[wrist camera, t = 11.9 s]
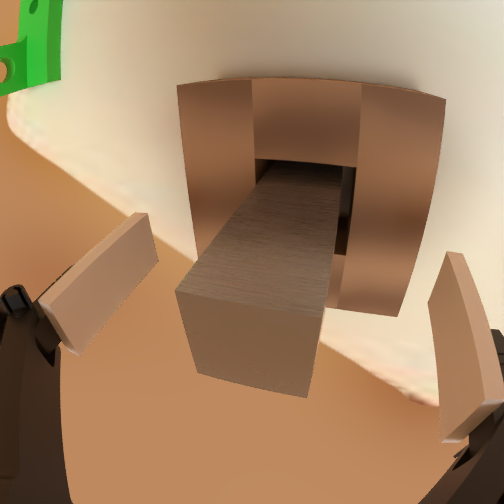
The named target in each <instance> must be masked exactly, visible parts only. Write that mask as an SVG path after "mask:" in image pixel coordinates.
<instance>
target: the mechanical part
mask: <svg viewBox="0 0 504 504" xmlns="http://www.w3.org/2000/svg"><path fill="white" fill-rule="evenodd" d="M62 4H63V0H21V5H20V16H19V32H18V40H17V42H16V43H14V44H9V45H4V46H0V61H1V62H3V63H4V64H5V65H6V67H7V75H6V78H5V80H4V81H3V82H2V83H0V96H3V95H6V94H10V93H13V92H16V91H19V90H22V89H26V88H29V87H33V86H36V85H40V84H44V83H48V82H52V81H56V80H61V69H60V42H61V18H62Z"/></svg>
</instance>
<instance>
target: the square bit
mask: <svg viewBox="0 0 504 504" xmlns="http://www.w3.org/2000/svg"><path fill="white" fill-rule="evenodd" d="M342 176H343V166H341V165H332V164H322V163H312V162H301V161H288V160H276V161H275V162H274V163H273V165H272V166H271V167H270V168H269V169H268V171H267V172H266V173H265V174H264V176H263V177H262V178H261V179H260V181H259V182H258V183H257V184H256V186H255V187H254V188H253V189H252V191H251V192H250V193H249V194H248V196H247V197H246V198H245V199H244V201H243V202H242V203H241V204H240V206H239V207H238V208H237V209H236V211H235V212H234V213H233V215H232V216H231V217H230V218H229V220H228V221H227V222H226V223H225V225H224V226H223V227H222V229H221V230H220V231H219V232H218V234H217V235H216V236H215V238H214V239H213V240H212V242H211V243H210V244H209V245H208V247H207V248H206V249H205V251H204V252H203V253H202V255H201V256H200V257H199V259H198V260H197V261H196V263H195V264H194V265H193V267H192V268H191V269H190V271H189V272H188V273H187V275H186V276H185V277H184V279H183V280H182V281H181V283H180V284H179V285H178V287H177V288H176V289H175V293H176V297H177V301H178V305H179V308H180V313H181V317H182V320H183V324H184V327H185V331H186V335H187V338H188V342H189V345H190V349H191V352H192V355H193V359H194V362H195V366H196V369H197V372H198V373H201V374H204V375H208V376H211V377H215V378H218V379H222V380H226V381H230V382H234V383H238V384H242V385H246V386H250V387H255V388H260V389H264V390H268V391H273V392H278V393H283V394H288V395H293V396H299V397H304V398H307V396H308V392H309V387H310V383H311V378H312V374H313V369H314V364H315V360H316V355H317V350H318V345H319V340H320V335H321V330H322V324H323V319H324V313H325V308H326V302H327V296H328V290H329V284H330V277H331V271H332V264H333V257H334V250H335V242H336V234H337V226H338V218H339V209H340V199H341V188H342Z"/></svg>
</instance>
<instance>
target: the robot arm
mask: <svg viewBox="0 0 504 504" xmlns="http://www.w3.org/2000/svg"><path fill="white" fill-rule="evenodd" d="M158 261H159V260H158V256H157V252H156V248H155V244H154V240H153V235H152V231H151V227H150V222H149V218H148V213H138V212H135V213H134V214H132V215H131V216H130V217H129V218H127V219H126V220H125V221H124V222H123V223H121V224H120V225H119V226H118V227H117V228H115V229H114V230H113V231H112V232H111V233H110V234H108V235H107V236H106V237H105V238H104V239H103V240H101V241H100V242H99V243H98V244H97V245H96V246H95V247H94V248H92V249H91V250H90V251H89V252H88V253H87V254H86V255H84V256H83V257H82V258H81V259H80V260H79V261H78V262H77V263H76V264H74V265H72V266H71V267H69V268H68V269H67V270H66V271H65V272H64V273H63V274H62V276H60V277H59V278H58V279H56V282H53V283H52V284H51V286H49V287H48V288H47V289H46V290H45V291H44V292H43V293H42V294H41V295H40V296H39V297H38V298H37V299H36V300H35V301H34V302H33V303H32V301H31V299H30V298H29V296H28V294H27V292H26V290H25V288H24V287H23V286H22V285H14V286H11V287H9V288H8V289H7V290H5V291H4V292H3V293H2V294H1V296H0V504H73V503H72V501H71V498H70V494H69V488H68V483H67V476H66V469H65V461H64V452H63V442H62V429H61V410H60V359H61V351H60V347H59V346H58V344H59V343H60V342H61V341H62V342H63V344H64V345H65V347H66V348H67V350H68V351H70V352H72V353H74V354H76V355H78V356H81V354H82V353H83V352H84V350H85V349H86V348H87V346H88V345H89V344H90V343H91V342H92V340H93V339H94V338H95V337H96V335H97V334H98V333H99V331H100V330H101V329H102V328H103V326H104V325H105V324H106V323H107V321H108V320H109V319H110V318H111V317H112V315H113V314H114V313H115V312H116V310H117V309H118V308H119V307H120V306H121V305H122V303H123V302H124V301H125V300H126V299H127V297H128V296H129V295H130V294H131V292H132V291H133V290H134V289H135V288H136V287H137V286H138V285H139V283H140V282H141V281H142V280H143V279H144V278H145V276H146V275H147V274H148V273H149V272H150V271H151V269H152V268H153V267H154V266H155V265H156V264H157V263H158ZM428 308H429V314H430V320H431V326H432V333H433V340H434V348H435V356H436V366H437V377H438V390H439V409H440V443H453V442H454V443H455V442H460V441H462V440H463V439H464V438H465V437H466V436H468V435H469V444H468V445H467V446H466V447H464V448H463V449H462V450H460V451H459V452H458V453H457V454H456V455H454V458H456V457H458V458H457V459H456V460H455V462H454V463H453V464H452V465H451V467H450V468H449V469H448V470H447V472H446V473H445V474H444V475H443V476H442V478H441V479H440V480H439V481H438V482H437V484H436V485H435V486H434V487H433V488H432V489H431V491H429V493H428V494H427V495H426V496H425V497H424V498H423V499H422V500H421V501H420V502H419V503H418V504H504V336H503V335H502V333H501V332H500V331H499V330H496V329H490V327H489V323H488V320H487V317H486V314H485V311H484V308H483V305H482V302H481V299H480V296H479V294H478V291H477V288H476V286H475V283H474V280H473V278H472V275H471V273H470V270H469V268H468V265H467V263H466V261H465V258H464V256H463V254H461V253H455V252H449V251H447V252H446V255H445V258H444V261H443V264H442V267H441V269H440V272H439V275H438V278H437V280H436V283H435V286H434V288H433V291H432V293H431V296H430V298H429V301H428Z"/></svg>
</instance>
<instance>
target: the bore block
mask: <svg viewBox="0 0 504 504" xmlns="http://www.w3.org/2000/svg"><path fill="white" fill-rule="evenodd" d="M177 94H178V105H179V116H180V126H181V135H182V144H183V153H184V162H185V170H186V178H187V186H188V193H189V201H190V208H191V215H192V222H193V229H194V235H195V242H196V248H197V254H198V259H199V257H200V256H201V255H202V253H203V252H204V251H205V249H206V248H207V247H208V245H209V244H210V243H211V242H212V240H213V239H214V238H215V236H216V235H217V234H218V232H219V231H220V230H221V229H222V227H223V226H224V225H225V223H226V222H227V221H228V220H229V218H230V217H231V216H232V215H233V213H234V212H235V211H236V209H237V208H238V207H239V206H240V204H241V203H242V202H243V201H244V199H245V198H246V197H247V196H248V194H249V193H250V192H251V191H252V189H253V188H254V187H255V186H256V184H257V183H258V182H259V181H260V179H261V178H262V177H263V176H264V174H265V173H266V172H267V171H268V169H269V168H270V167H271V166H272V165H273V163H274V162H275V161H276V160H288V161H301V162H312V163H322V164H332V165H341V166H343V176H342V188H341V199H340V209H339V218H338V226H337V234H336V242H335V250H334V257H333V264H332V271H331V277H330V284H329V290H328V296H327V302H326V307H327V308H334V309H341V310H348V311H355V312H362V313H370V314H378V315H385V316H393V317H397V316H398V313H399V311H400V308H401V305H402V302H403V299H404V296H405V293H406V290H407V287H408V284H409V281H410V278H411V275H412V272H413V269H414V265H415V262H416V259H417V255H418V252H419V248H420V244H421V241H422V237H423V233H424V229H425V225H426V221H427V217H428V213H429V208H430V204H431V199H432V194H433V189H434V184H435V179H436V173H437V168H438V162H439V155H440V148H441V141H442V133H443V125H444V115H445V104H446V99H443V98H440V97H437V96H434V95H430V94H427V93H424V92H420V91H415V90H410V89H404V88H398V87H392V86H386V85H379V84H371V83H363V82H354V81H344V80H332V79H316V78H288V77H262V78H233V79H218V80H210V81H202V82H195V83H189V84H182V85H177Z"/></svg>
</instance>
